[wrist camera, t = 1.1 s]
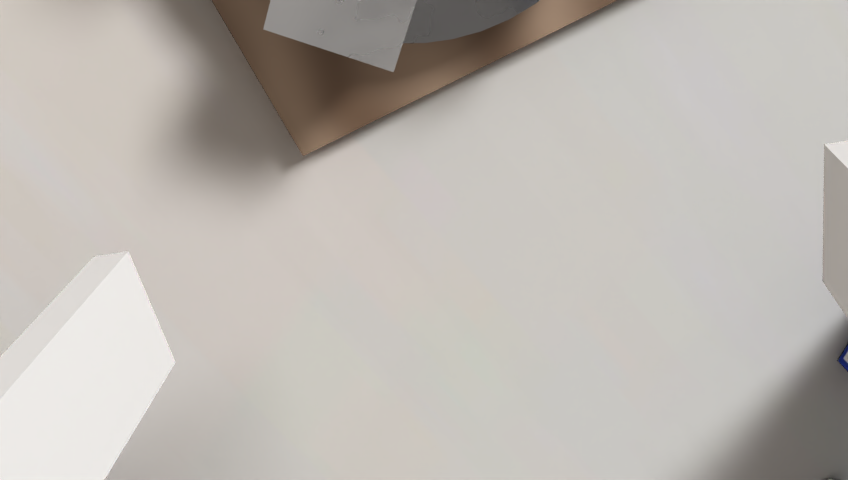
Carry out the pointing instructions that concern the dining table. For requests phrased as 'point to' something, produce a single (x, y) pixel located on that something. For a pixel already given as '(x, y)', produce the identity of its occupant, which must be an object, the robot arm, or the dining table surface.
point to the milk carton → (844, 358)
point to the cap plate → (373, 67)
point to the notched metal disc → (384, 23)
